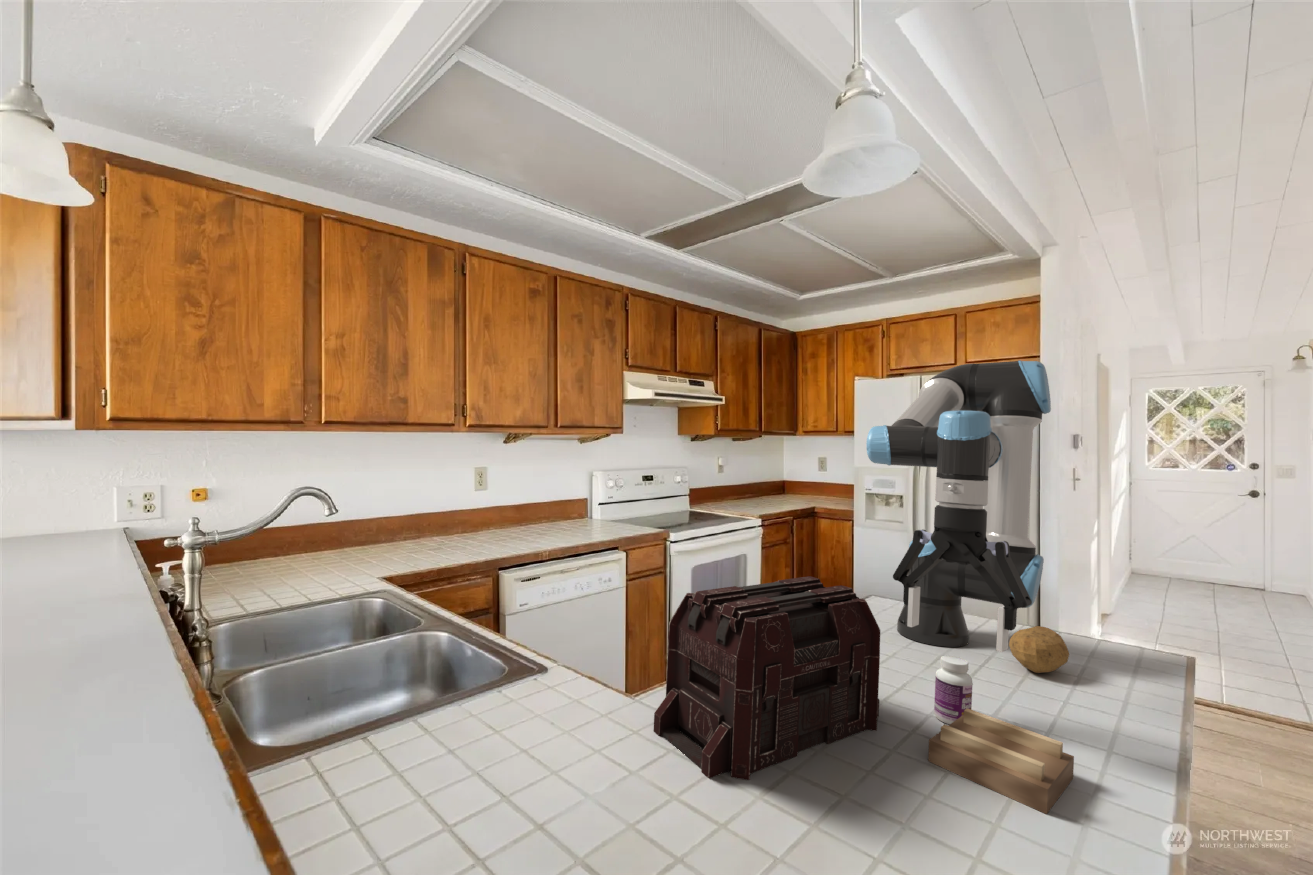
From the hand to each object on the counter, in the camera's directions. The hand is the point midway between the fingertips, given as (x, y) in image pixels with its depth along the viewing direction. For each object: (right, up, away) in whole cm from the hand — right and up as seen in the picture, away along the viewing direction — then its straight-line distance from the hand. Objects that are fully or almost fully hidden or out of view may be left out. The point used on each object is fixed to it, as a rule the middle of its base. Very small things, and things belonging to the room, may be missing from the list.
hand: (955, 637), depth 91 cm
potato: (+29, -15, +23) cm, 40 cm away
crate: (-31, -12, -4) cm, 33 cm away
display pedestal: (-1, -13, -14) cm, 19 cm away
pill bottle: (0, -14, 0) cm, 14 cm away
